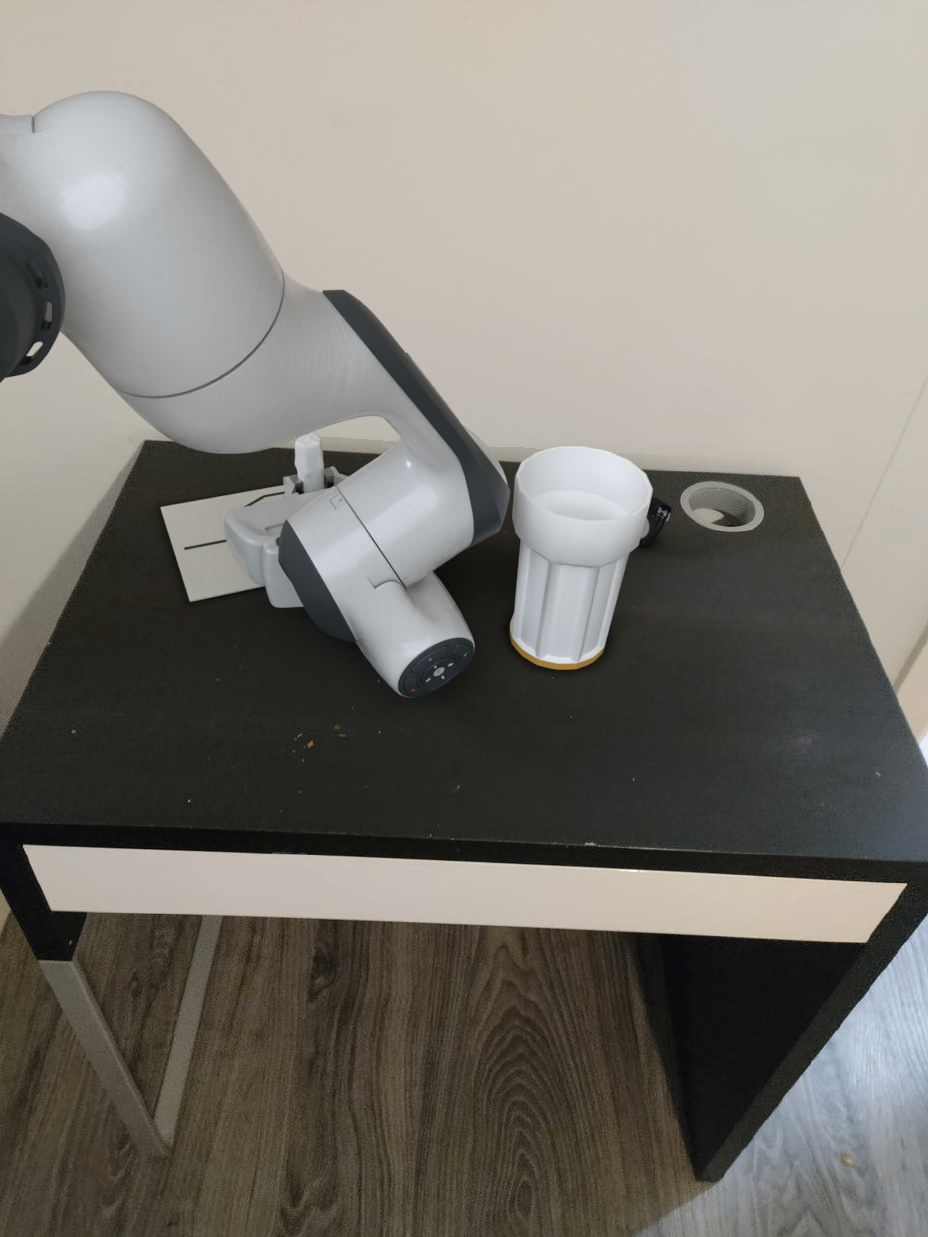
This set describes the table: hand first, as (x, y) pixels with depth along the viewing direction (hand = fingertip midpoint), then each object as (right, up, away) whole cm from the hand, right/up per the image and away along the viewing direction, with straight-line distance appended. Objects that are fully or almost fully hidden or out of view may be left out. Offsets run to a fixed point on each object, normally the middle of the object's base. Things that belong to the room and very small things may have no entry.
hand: (308, 477), depth 92 cm
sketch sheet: (-4, -5, +4) cm, 8 cm away
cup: (+24, -16, -5) cm, 29 cm away
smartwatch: (+35, -6, +7) cm, 36 cm away
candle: (0, -6, +4) cm, 7 cm away
